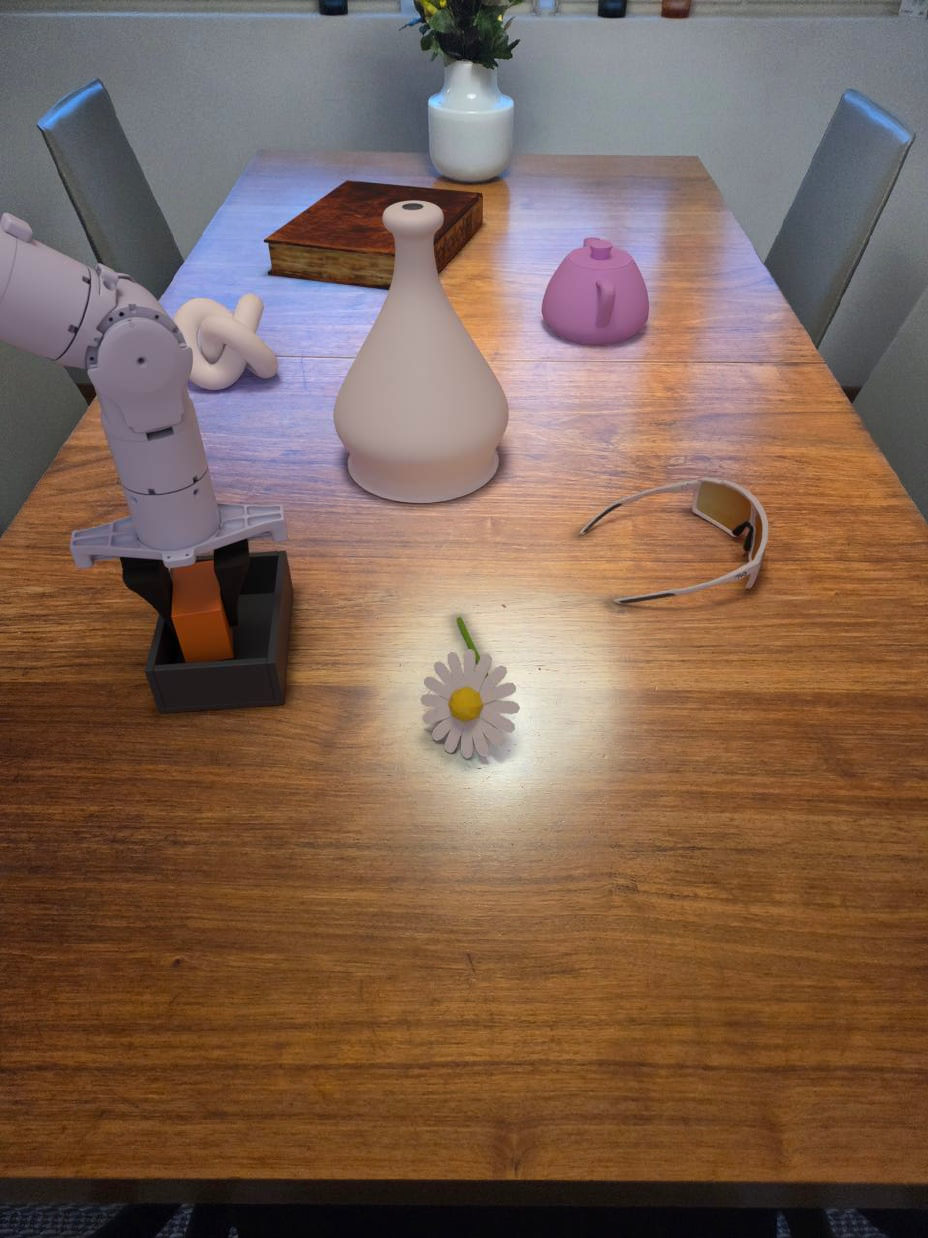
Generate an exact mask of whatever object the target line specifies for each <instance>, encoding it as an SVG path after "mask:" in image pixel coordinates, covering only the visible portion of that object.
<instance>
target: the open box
mask: <svg viewBox="0 0 928 1238" xmlns="http://www.w3.org/2000/svg"><path fill="white" fill-rule="evenodd" d="M287 553H288V552H287V550H272V551H255V552H249V557H250V563H249V568H248V572H247V574H246V576H245V578H244V581H243V583H242V587H241V590H240V594H239V599H238V607H237V609H238V626H234V627H232V630H233V655H234V657H233V658H231V659H224V660H218V661H211V662H196V663H186V662H185V659H184V655H183V652H182V649H181V646H180V643H179V639H178V636H177V635H174V634H173V632H172V631H171V629H170V627H169V626H168V624H167V623H166V622H165V620H164V619H163V618H162V617H161V615H160V614H159V613H158V615H157V616H158V617H157V620H156V624H155V628H154V632H153V636H152V640H151V644H150V649H149V652H148V655H147V660H146V664H145V668H144V675H145V677H146V680H147V682H148V686H149V688H150V690H151V693H152V696H153V699H154V702H155V705H156V708H157V710H158V713H159V714H169V713H184V712H199V711H212V710H225V709H226V710H228V709H240V708H241V709H243V708H255V707H269V706H284V704H285V695H286V685H287V674H288V671H287V670H288V659H289V650H290V638H291V624H292V614H293V603H294V602H293V601H294V587H293V580H292V576H291V575H292V574H291V570H290V563H289V560H288V559H289V558H288V554H287ZM211 560H213V554H200V555H197V556H196V561H195V563H197V562H204V561H211ZM169 573H170V577H171V580H172V583H173V568H169Z"/></svg>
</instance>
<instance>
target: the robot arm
mask: <svg viewBox="0 0 928 1238" xmlns="http://www.w3.org/2000/svg"><path fill="white" fill-rule="evenodd" d="M33 234H34V232H33V229H32V228H31V226H30V225H29V223H28V222H27V221H25V220H23V219H21V218H19V217H17V216H15V215H13V214H11V213H9V212H4V213H2V216H1V218H0V341H1V342H3V343H6V344H7V345H11V346H13V347H15V348H18V349H20V350H23V351H25V352H28V353H29V354H32V355H35V356H38V357H40V358H43V359H45V360H46V361H47V360H48V361H50V362H52V363H53V364H57V365H59V366H64V367H70V368H71V367H73V368H78V369H83V370H87V376H88V378H89V380H90V382H91V384H92V385H93V388H94V391H95V395H96V397H97V400H98V404H99V408H100V415H99V416H100V417H99V418H100V422H101V426H102V429H103V432H104V435H105V439H106V441H107V444H108V448H109V451H110V454H111V457H112V460H113V463H114V467H115V470H116V473H117V476H118V479H119V482H120V485H121V489H122V492H123V495H124V499H125V501H126V505H127V508H128V511H129V514H130V515H128V516H125V517H122V518H119V519H115V520H112V521H109V522H107V523H106V522H105V523H103V524H100V525H96V526H93V527H89V528H83V529H77V530H73V531H71V535H70V541H69V548H68V549H69V551H70V554H71V557H72V558H73V561H74V564H75V566H76V569H77V570H83V569H90V568H92V567H94V566H95V562H101V561H109V560H117V559H119V561H120V563H121V569H122V575H121V579H122V582H123V583H124V585H125V586H126V588H127V589H128V590H130V591H132V592H133V593H135V594H136V595H138V596H139V597H141V598H142V599H143V600H145V601H146V603H148V604H149V605H150V606H151V607H152V608H153V609H154V610H155V611H156V612H157V613H158V615H159V614H160V615H161V617H162V618H163V619H164V620H165V622H166V623H167V624H168V626H169V627H170V629H171V631H172V632H173V634H174V635H177V633H176V630H175V626H174V623H173V620H172V617H171V615H172V588H173V583H172V580H171V577H170V569H171V568H176V567H183V566H189V565H192V564H194V563H195V561H196V556H201V555H204V554H205V553H209V552H211V551H213V554H212V555H213V560H214V572H215V575H216V577H217V580H218V583H219V586H220V589H221V592H222V595H223V599H224V604H225V611H226V617H227V621H228V624H229V627H234V626H238V609H237V607H238V599H239V594H240V590H241V587H242V583H243V581H244V578H245V576H246V574H247V572H248V568H249V563H250V557H249V553H250V544H249V542H250V541H257V540H263V539H272V542H274V543H281V542H288V541H289V534H288V527H287V521H286V515H285V509H284V505H283V503H278V504H268V505H267V504H265V505H262V504H261V505H260V504H245V503H244V504H243V503H231V502H217V498H216V493H215V490H214V485H213V481H212V476H211V473H210V469H209V464H208V459H207V456H206V455H207V454H206V450H205V447H204V441H203V438H202V434H201V430H200V425H199V421H198V417H197V413H196V408H195V404H194V401H193V399H192V398H191V397H190V392H189V388H188V387H189V386H188V381H189V380H190V379H189V376H190V374H191V370H192V365H193V352H192V348H191V347H189V346H187V345H186V341H185V339H184V337H183V334H182V332H181V331H180V329H179V328H178V327H177V325H176V324H175V322H174V321H173V318H172V317H171V316H170V315H169V314H168V312H167V311H166V309H165V308H164V307H163V306H162V304H161V303H160V302H159V301H158V299H157V298H156V297H155V296H154V295H153V293H151V292H150V291H149V290H148V289H146V288H145V287H144V286H142V285H141V284H140V283H138V282H136V281H135V279H134V278H133V277H132V276H131V275H130V274H127V273H122V272H116V271H115V270H114V269H112V268H110V267H108V266H106V265H104V264H102V263H97V264H96V266H95V267H94V268H92V267H90V266H88V265H86V264H84V263H82V262H80V261H78V260H76V259H74V258H73V257H70V256H68V255H66V254H64V253H62V252H60V251H58V250H57V249H54V248H52V247H50V246H49V245H46V244H44V243H42V242H41V241H38V240H36V239H34V238H32V237H33Z"/></svg>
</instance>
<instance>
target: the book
mask: <svg viewBox="0 0 928 1238" xmlns="http://www.w3.org/2000/svg"><path fill="white" fill-rule="evenodd" d="M403 201H425V202H429V203H432V204H435V205H437V206H438V207H439V208H440V209H441V210H442V212H443V215H444V221H443V224H442V226H441V228H440V229H439V230H438V231H436V233H435V234H434V240H433V246H434V256H435V262H436V268H437V272H438V274H439V273H440V272H441V271H442V270H443V269H444V268H445V267H446V265H448V264H449V262H450V261H451V260H453V258H454V257H455V256H456V254H457V253H458V252H459V251H460V250H461V249H462V248H463V247H464V246H465V244H467V243H468V241H469V240H470V239H471V238H472V237H473V235H475V233H476V232H478V230H479V229H480V228H481V227H482V226H483V222H484V195H483V192H479V191H478V192H477V191H466V190H455V189H447V188H436V187H425V186H414V185H402V184H392V183H381V182H371V181H362V180H361V181H360V180H351V179H350V180H349V179H346V180H345V181H344V182H342V183H340V184H339V185H338V186H337V187H335V188H334V189H333V190H331V191H330V192H328V193H327V194H326V195H324V196H323V197H322V198H320V199H318V200H317V201H315V202H314V203H313V204H312V205H310V206H308V208H306V209H305V210H303V211H301V212H300V213H299V214H297V215H296V216H295V217H294V218H291V220H289V221H288V222H287V223H285V224H284V225H282V226H281V227H279V228H278V229H277V230H275V231H274V232H272V233H270V234H269V235H268V236H267V237H265V238H264V239H263V243H266V244H267V245H268V251H269V252H268V253H269V258H270V266H271V269H270V270H269V271H267V275H268V276H273V277H274V276H275V277H281V278H282V277H283V278H290V279H298V280H306V281H314V282H323V283H330V284H339V285H347V286H354V287H363V288H370V289H371V288H372V289H378V290H387V291H389V289H390V286H391V282H392V278H393V273H394V264H395V240H394V236H393V234H392V233H391V232H390V231H388V230H387V229H386V227H385V226H384V224H383V213H384V211H385V210H386V208H388V207H389V206H391V205H393V204H395V203H398V202H403Z"/></svg>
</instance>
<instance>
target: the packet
mask: <svg viewBox="0 0 928 1238" xmlns="http://www.w3.org/2000/svg"><path fill="white" fill-rule="evenodd" d="M171 617H172V620H173V623H174V626H175V630H176V633H177V636H178V639H179V643H180V646H181V649H182V652H183V655H184V659H185V662H186V663H196V662H211V661H218V660H224V659H231V658H233V657H234V655H233V630H232V627H229V624H228V621H227V617H226V611H225V604H224V599H223V595H222V592H221V589H220V586H219V583H218V580H217V577H216V575H215V572H214V560H211V561H204V562H197V563H194V564H192V565H189V566H183V567H176V568H173V588H172V615H171Z"/></svg>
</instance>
